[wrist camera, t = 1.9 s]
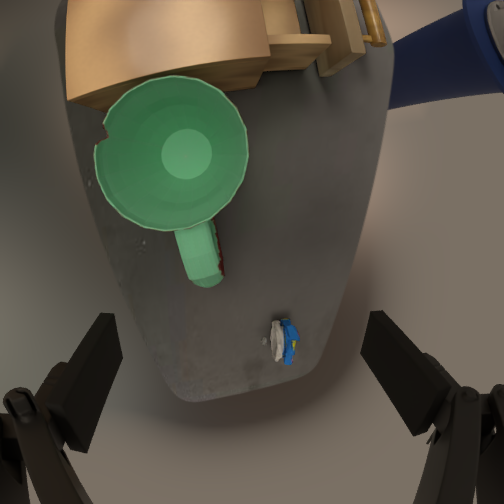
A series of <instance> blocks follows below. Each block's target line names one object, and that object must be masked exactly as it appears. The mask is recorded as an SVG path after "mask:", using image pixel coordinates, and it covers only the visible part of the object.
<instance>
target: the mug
mask: <svg viewBox="0 0 504 504" xmlns="http://www.w3.org/2000/svg"><path fill="white" fill-rule="evenodd" d="M102 124H103V129H105V130H106V132H107V138H105V139H102V140H99V141H98V142H97V143H96V144H95V149H94V163H95V171H96V178H97V180H98V183H99V185H100V187H101V189H102V192H103V194H104V196H105V198H106V200H107V201H108V202H109V203H110V204H111V205H112V206H113V207H114V208H115V209H116V211H117V212H118V213H119V214H120V215H121V216H122V217H124V218H126V219H128V220H130V221H131V222H133V223H135V224H137V225H139V226H140V227H142V228H147V229H153V230H158V231H163V232H169V231H174V233H175V237H176V240H177V244H178V247H179V251H180V254H181V258H182V261H183V264H184V267H185V270H186V273H187V276H188V278H189V280H190V281H192V282H193V283H194V284H196V285H198V286H201V287H206V288H207V287H212V286H214V285H216V284H218V283H220V281H221V280H222V279H223V277H224V276H225V274H224V265H223V256H222V251H221V247H220V242H219V237H218V233H217V228H216V223H215V219H214V216H215V215H217V214H218V213H219V212H220V211H221V210H222V209H223V208H224V207H225V206H227V205H228V204H229V203H230V202H231V201H232V199H233V197H234V195H235V194H236V192H237V190H238V189H239V187H240V185H241V184H242V182H243V180H244V177H245V172H246V168H247V164H248V159H249V144H248V133H247V129H246V126H245V124H244V122H243V120H242V117H241V115H240V113H239V111H238V108H237V107H236V106H235V105H234V104H233V103H232V102H231V100H230V99H229V98H228V97H227V96H226V95H225V94H224V93H223V92H222V91H221V90H220V89H218V88H216V87H214V86H212V85H210V84H208V83H206V82H204V81H202V80H200V79H198V78H192V77H186V76H178V75H170V76H164V77H159V78H153V79H149V80H147V81H145V82H143V83H141V84H139V85H137V86H135V87H134V88H132V89H130V90H128V91H127V92H126V93H125V94H123V95H122V96H121V97H120V98H119V99H118V100H117V101H116V103H115V104H114V105H113V106H112V107H111V108H110V109H109V111H108V113H107V115H106V117H105V119H104V121H103V123H102Z"/></svg>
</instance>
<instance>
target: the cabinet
mask: <svg viewBox="0 0 504 504" xmlns="http://www.w3.org/2000/svg"><path fill="white" fill-rule="evenodd" d="M270 57H271V53H270V47H269V42H268V36H267V31H266V25H265V20H264V15H263V10H262V4H261V0H68V7H67V22H66V89H67V101H70V102H74V103H77V104H81V105H84V106H87V107H90V108H93V109H96V110H99V111H102V112H105V113H108V111H109V109H110V108H111V107H112V106H113V105H114V104H115V103H116V101H117V100H118V99H119V98H120V97H121V96H122V95H123V94H125V93H126V92H127V91H128V90H130V89H132V88H134V87H135V86H137V85H139V84H141V83H143V82H145V81H147V80H149V79H153V78H159V77H164V76H170V75H178V76H186V77H192V78H198V79H200V80H202V81H204V82H206V83H208V84H210V85H212V86H214V87H216V88H218V89H220V90H221V91H222V92H227V91H235V90H243V89H252V88H255V87H256V85H257V83H258V81H259V79H260V77H261V75H262V73H263V71H264V68H265V66H266V64H267V62H268V60H269V59H270Z"/></svg>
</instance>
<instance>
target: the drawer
mask: <svg viewBox="0 0 504 504" xmlns="http://www.w3.org/2000/svg"><path fill="white" fill-rule="evenodd" d="M303 1H304V5H305V9H306V13H307V17H308V22H309V26H310V31H311V34H301V30H300V26H299V21H298V16H297V12H296V8H295V3H294V0H261V4H262V10H263V15H264V20H265V25H266V31H267V36H268V42H269V47H270V53H271V57H270V59H269V60H268V62H267V64H266V66H265V68H264V71H276V70H296V69H306V68H307V67H308V66H309V65H310V64H311V63H312V62H313V61H314V60H315V59H316V61H317V66H318V72H319V76H320V77H324V76H332V75H334V74H335V73H337V72H338V71H340V70H341V69H343V68H344V67H346V66H347V65H349V64H350V63H352V62H353V61H355V60H357V59H358V58H360V57H361V56H363V55H364V54H366V50H365V46H364V42H365V43H370V45H371V46H373V47H384V46H386V45H387V42H386V38H385V34H384V30H383V26H382V23H381V19H380V16H379V12H378V9H377V5H376V2H375V0H359V3H360V6H361V10H362V13H363V17H364V21H365V24H366V28H367V32H368V35H362V33H361V29H360V25H359V21H358V18H357V14H356V10H355V7H354V3H353V0H303Z"/></svg>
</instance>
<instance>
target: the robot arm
mask: <svg viewBox="0 0 504 504" xmlns="http://www.w3.org/2000/svg"><path fill="white" fill-rule="evenodd" d="M484 21H485V26H486V30H487V33H488V36H489V38H490V41H491V43H492V46H493V48H494V50H495V52H496V54H497V56H498V58H499V59H500V61H501V63H502V64H503V66H504V1H494V2H491V3H488V4H487V5H486V6H485V8H484ZM360 354H361V355H362V357H363V358H364V360H365V361H366V363H367V364H368V366H369V368H370V369H371V371H372V372H373V373H374V375H375V377H376V378H377V380H378V381H379V383H380V384H381V386H382V388H383V389H384V391H385V392H386V394H387V395H388V397H389V398H390V400H391V402H392V403H393V405H394V406H395V408H396V409H397V411H398V413H399V414H400V416H401V417H402V419H403V421H404V422H405V424H406V425H407V427H408V429H409V430H410V432H411V434H412V435H413V436H416V435H420V434H422V433H425V432H427V431H428V429H429V428H430V426H431V424H432V423H433V424H434V426H435V427H436V429H435V430H434V432H433V433H432V435H431V436H430V438H429V440H428V441H427V443H426V444H429V442H430V441H431V444H430V448H429V452H428V456H427V460H426V464H425V467H424V471H423V474H422V477H421V481H420V484H419V487H418V490H417V493H416V496H415V499H414V502H413V504H473V498H474V493H475V486H476V495H477V504H504V385H502V384H497V385H495V386H494V387H493V389H492V391H491V392H490V394H479V392H477V391H476V390H475V389H473V388H471V387H466V386H463V387H461V386H460V385H459V384H458V383H457V382H456V381H455V380H454V379H453V378H452V377H451V375H450V374H449V373H448V372H447V371H446V370H445V369H444V368H443V366H442V365H441V366H440V363H439V362H438V361H437V360H436V359H435V358H434V357H432V356H431V355H429V354H427V353H422V352H421V351H420V350H419V349H418V348H417V347H416V346H415V344H413V342H412V341H411V340H410V339H409V338H408V337H407V336H406V335H405V334H404V333H403V331H402V330H401V329H400V328H399V327H398V326H397V325H396V324H395V323H394V322H393V321H392V320H391V319H390V318H389V317H388V316H387V315H386V314H385V313H384V311H383V310H381V311H371V312H370V316H369V320H368V324H367V329H366V333H365V337H364V341H363V345H362V348H361V352H360ZM122 359H123V356H122V351H121V347H120V342H119V337H118V332H117V327H116V321H115V316H114V314H113V313H100V314H99V316H98V317H97V319H96V320H95V322H94V323H93V325H92V326H91V328H90V329H89V331H88V332H87V334H86V335H85V337H84V338H83V340H82V341H81V343H80V344H79V346H78V348H77V349H76V351H75V352H74V354H73V356H72V357H71V359H70V360H69V362H68V363H66V362H60V363H58V364H57V365H55V366H54V367H53V368H52V369H51V371H50V372H49V374H48V376H47V377H46V379H45V380H44V383H42V385H41V386H40V388H39V390H38V391H37V393H36V395H35V396H33V394H32V393H31V391H30V390H28V389H27V388H22V387H19V388H14V389H12V390H10V391H9V392H8V393H7V394H6V395H5V397H4V398H3V404H4V406H5V408H6V410H7V411H8V413H9V414H2V413H0V504H30V499H29V492H28V485H27V475H26V468H27V470H28V473H29V475H30V478H31V481H32V483H33V486H34V488H35V491H36V494H37V496H38V498H39V501H40V503H41V504H93V503H92V501H91V499H90V498H89V496H88V495H87V493H86V491H85V489H84V487H83V486H82V484H81V482H80V481H79V479H78V477H77V475H76V473H75V471H74V469H73V467H72V466H71V463H70V461H69V459H68V457H67V455H66V453H65V451H64V450H63V446H64V443H65V441H66V443H67V445H68V446H69V448H70V450H74V451H79V452H82V453H87V452H88V449H89V446H90V443H91V440H92V437H93V435H94V432H95V429H96V426H97V423H98V421H99V418H100V415H101V412H102V410H103V407H104V404H105V402H106V399H107V396H108V394H109V391H110V389H111V386H112V384H113V381H114V379H115V376H116V374H117V371H118V369H119V366H120V364H121V362H122ZM495 427H496V433H495V431H494V428H495Z"/></svg>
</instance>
